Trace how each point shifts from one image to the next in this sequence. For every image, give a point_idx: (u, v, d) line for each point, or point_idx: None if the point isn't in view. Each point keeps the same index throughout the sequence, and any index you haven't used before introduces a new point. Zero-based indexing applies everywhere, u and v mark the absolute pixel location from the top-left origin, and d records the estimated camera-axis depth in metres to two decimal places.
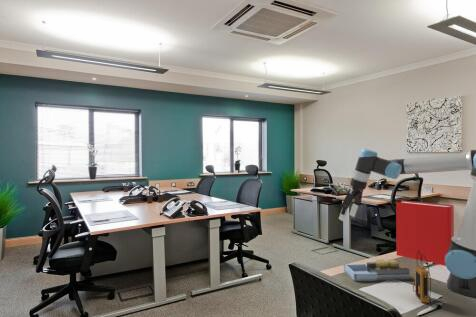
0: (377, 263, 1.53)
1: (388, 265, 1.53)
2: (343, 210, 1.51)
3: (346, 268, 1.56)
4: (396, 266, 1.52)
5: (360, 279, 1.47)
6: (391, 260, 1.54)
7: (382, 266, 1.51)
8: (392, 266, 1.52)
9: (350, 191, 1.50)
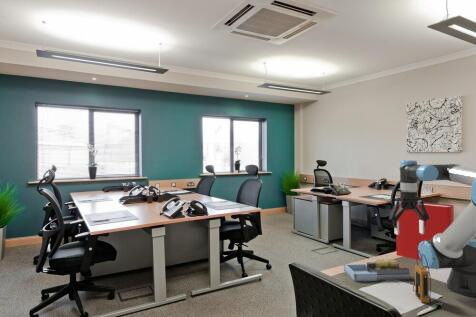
0: (377, 263, 1.53)
1: (388, 265, 1.53)
2: (393, 223, 1.53)
3: (346, 268, 1.56)
4: (396, 266, 1.52)
5: (360, 279, 1.47)
6: (391, 260, 1.54)
7: (382, 266, 1.51)
8: (392, 266, 1.52)
9: (395, 203, 1.54)
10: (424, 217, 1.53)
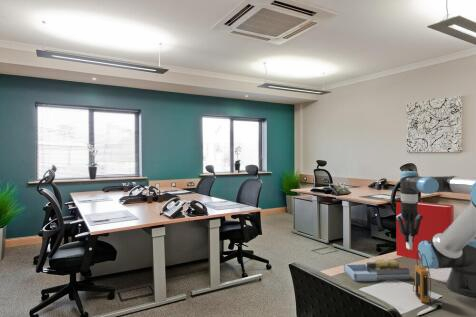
0: (377, 263, 1.53)
1: (388, 265, 1.53)
2: (405, 237, 1.54)
3: (346, 268, 1.56)
4: (396, 266, 1.52)
5: (360, 279, 1.47)
6: (391, 260, 1.54)
7: (382, 266, 1.51)
8: (392, 266, 1.52)
9: (397, 218, 1.54)
10: (414, 233, 1.53)
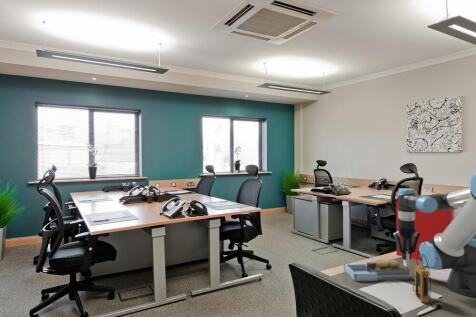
0: (377, 263, 1.53)
1: (388, 265, 1.53)
2: (402, 255, 1.54)
3: (346, 268, 1.56)
4: (396, 266, 1.52)
5: (360, 279, 1.47)
6: (391, 260, 1.54)
7: (382, 266, 1.51)
8: (392, 266, 1.52)
9: (394, 235, 1.54)
10: (411, 250, 1.53)
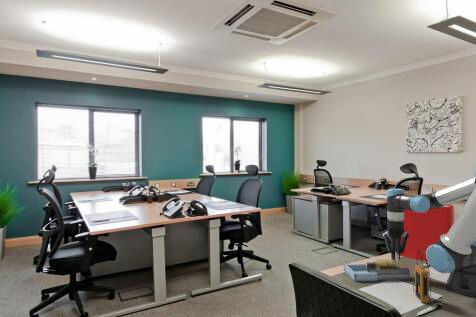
0: (377, 263, 1.53)
1: None
2: (392, 255, 1.54)
3: (346, 268, 1.56)
4: (394, 266, 1.52)
5: (360, 279, 1.47)
6: (389, 260, 1.54)
7: (382, 266, 1.51)
8: (390, 266, 1.52)
9: (383, 236, 1.54)
10: (400, 250, 1.53)
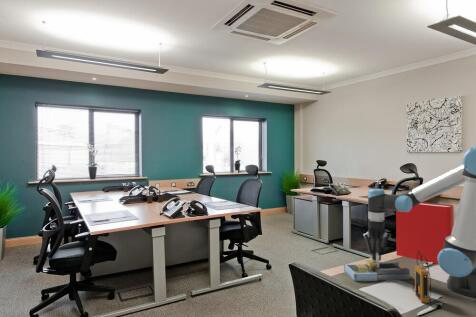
0: None
1: (367, 265, 1.53)
2: (372, 256, 1.53)
3: (346, 268, 1.56)
4: (375, 266, 1.51)
5: (360, 279, 1.47)
6: (370, 260, 1.54)
7: (362, 272, 1.51)
8: (371, 266, 1.51)
9: (364, 236, 1.53)
10: (381, 251, 1.52)
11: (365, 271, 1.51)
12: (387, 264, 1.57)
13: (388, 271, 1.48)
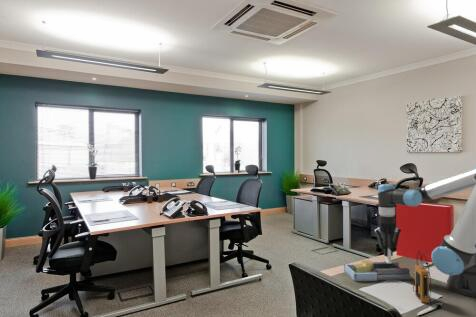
0: None
1: None
2: (384, 251, 1.53)
3: (346, 268, 1.56)
4: (371, 267, 1.51)
5: (360, 279, 1.47)
6: (366, 261, 1.54)
7: (360, 272, 1.51)
8: (367, 267, 1.51)
9: (375, 232, 1.53)
10: (392, 246, 1.52)
11: (363, 271, 1.51)
12: (387, 264, 1.57)
13: (388, 271, 1.48)
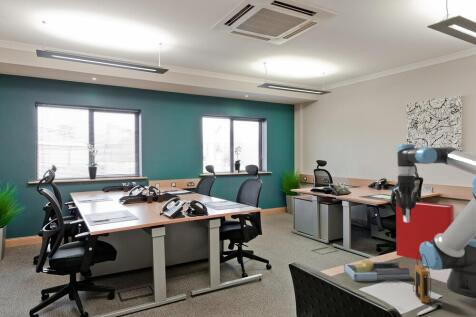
0: None
1: None
2: (402, 211, 1.54)
3: (346, 268, 1.56)
4: (371, 267, 1.51)
5: (360, 279, 1.47)
6: (366, 261, 1.54)
7: (360, 272, 1.51)
8: (367, 267, 1.51)
9: (394, 191, 1.54)
10: (411, 206, 1.53)
11: (363, 271, 1.51)
12: (387, 264, 1.57)
13: (388, 271, 1.48)
